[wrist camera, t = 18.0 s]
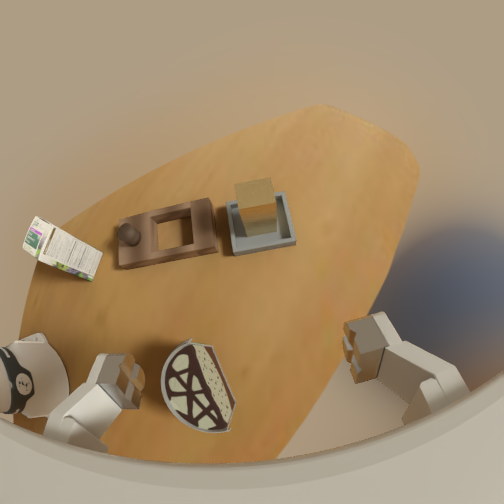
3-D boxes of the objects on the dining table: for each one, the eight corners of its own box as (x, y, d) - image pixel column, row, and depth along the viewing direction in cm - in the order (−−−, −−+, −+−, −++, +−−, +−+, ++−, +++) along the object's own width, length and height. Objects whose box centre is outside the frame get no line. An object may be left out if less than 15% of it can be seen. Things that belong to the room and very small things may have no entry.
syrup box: (74, 271, 43) (20, 249, 29) (85, 242, 45) (34, 214, 31) (93, 281, 42) (36, 261, 28) (104, 251, 44) (51, 222, 30)
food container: (172, 349, 38) (141, 353, 28) (208, 336, 38) (186, 337, 29) (203, 421, 34) (181, 445, 25) (240, 411, 35) (228, 435, 25)
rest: (235, 256, 41) (233, 252, 39) (228, 207, 43) (225, 202, 42) (295, 244, 41) (296, 240, 39) (284, 197, 43) (284, 191, 41)
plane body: (127, 269, 42) (108, 260, 36) (127, 226, 44) (109, 212, 39) (218, 252, 41) (209, 239, 36) (212, 205, 44) (203, 188, 38)
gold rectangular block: (247, 237, 41) (238, 209, 32) (244, 216, 42) (234, 184, 33) (277, 231, 41) (276, 202, 31) (272, 210, 42) (270, 177, 32)
